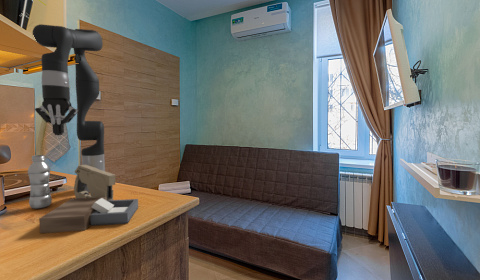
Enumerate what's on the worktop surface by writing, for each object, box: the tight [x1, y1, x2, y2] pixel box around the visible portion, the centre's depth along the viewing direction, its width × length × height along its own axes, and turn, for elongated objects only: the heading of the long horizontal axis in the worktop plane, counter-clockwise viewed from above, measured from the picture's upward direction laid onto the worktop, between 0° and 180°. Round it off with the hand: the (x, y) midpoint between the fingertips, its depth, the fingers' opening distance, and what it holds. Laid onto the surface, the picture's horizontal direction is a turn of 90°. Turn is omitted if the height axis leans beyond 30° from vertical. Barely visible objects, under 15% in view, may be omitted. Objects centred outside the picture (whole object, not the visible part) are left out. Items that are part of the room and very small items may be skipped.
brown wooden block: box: [38, 197, 107, 234], centre depth 78 cm, size 18×12×4 cm, turn 11°
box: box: [90, 198, 139, 227], centre depth 81 cm, size 14×11×4 cm
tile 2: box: [108, 207, 128, 213], centre depth 81 cm, size 5×5×2 cm
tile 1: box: [92, 198, 114, 213], centre depth 79 cm, size 5×5×2 cm
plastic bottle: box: [27, 154, 53, 209], centre depth 88 cm, size 6×7×20 cm
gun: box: [73, 164, 116, 200], centre depth 95 cm, size 24×3×15 cm, turn 62°
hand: (58, 134), depth 82 cm, fingers closed
